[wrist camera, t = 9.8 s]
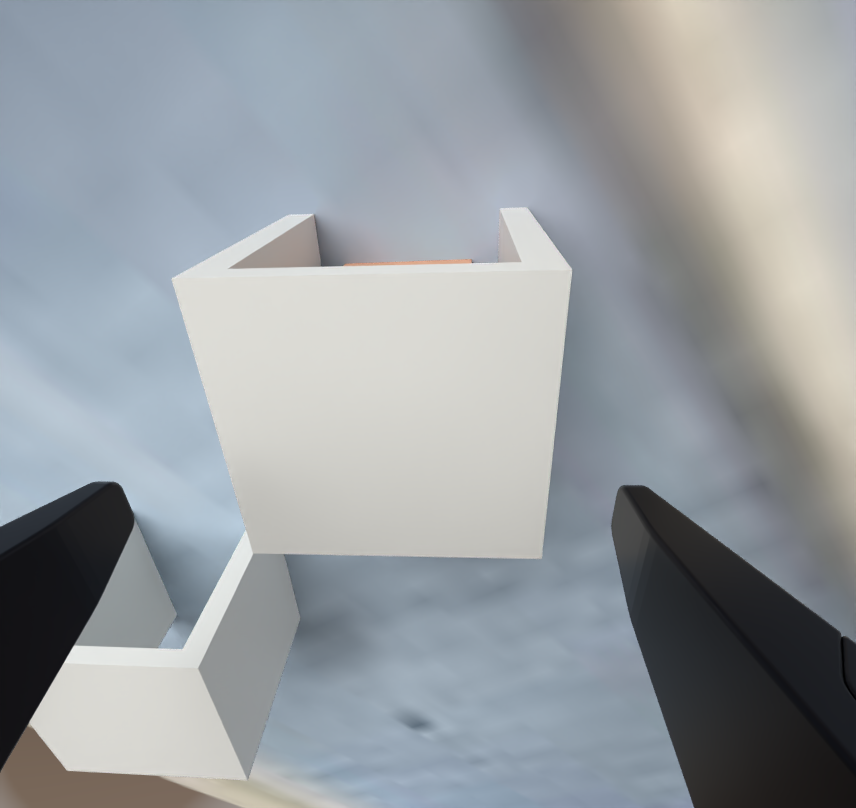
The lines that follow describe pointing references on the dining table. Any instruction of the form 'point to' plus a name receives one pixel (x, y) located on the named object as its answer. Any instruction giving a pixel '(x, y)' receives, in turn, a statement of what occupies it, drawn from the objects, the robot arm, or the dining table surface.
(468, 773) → the dining table surface
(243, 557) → the cover
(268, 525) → the cover
